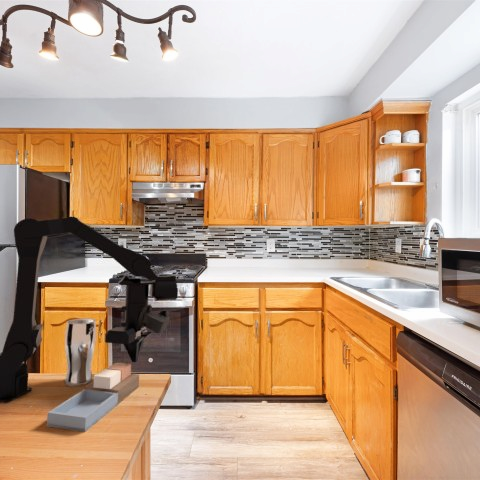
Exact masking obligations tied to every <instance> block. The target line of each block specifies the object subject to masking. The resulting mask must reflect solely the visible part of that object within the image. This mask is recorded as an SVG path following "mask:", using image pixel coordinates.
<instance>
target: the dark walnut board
mask: <svg viewBox="0 0 480 480" xmlns="http://www.w3.org/2000/svg"><path fill="white" fill-rule="evenodd" d="M93 385H94V380H92V381H91V382H89V383H87V384H86V385H85V386H84V389H90V390H98V391H107V392H116V393H118V405H119V404H120V403H122V402H123V401H124V400H126V398H128V397H129V396H130V395H131V394H132V393H133V392H135V391H136V390H137V389H138V388H139V387H140V374H139V373H138V374H137V373H131V374H130V375H129V376H128V377H126V378H125V379H124V380H122V381H120V382H119V383H118V384H117V385H115V386H114V387H112V388H111V389H103V388H95V387H93Z"/></svg>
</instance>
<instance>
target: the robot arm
mask: <svg viewBox="0 0 480 480" xmlns="http://www.w3.org/2000/svg"><path fill="white" fill-rule="evenodd" d="M13 234H14V235H13V236H14V245H15V248H16V253H17V257H18V264H17V273H16V274H17V275H16V286H15V295H14V296H15V297H14V307H13V308H14V309H13V316H12V317H13V318H12V319H13V320H12V322H11V325H10V328H9V330H8V333H7V336H6V337H5V341H4V345H3V348H2V351H1V352H0V402H3V403H9V402H11V401H13V400H15V399H17V398H19V397H21V396H24V395H25V394H27V393H29V392H31V391H32V390H33V387H32V386H31V387H30V386H28V385H29V372H28V367H29V366H28V365H29V364H28V365H27V364H26V363H25V362H26V361H28V360H29V359H30V358H32V356H33V354H34V352H35V351H36V350H37V349H38V348H39V347H40V345H41V343H42V341H43V338H42V330H43V327H44V324H43V323H42V324H37V321H36V316H35V315H36V304H37V294H38V293H37V292H38V283H39V273H40V261H41V257H42V254H43V252H44V249H45V246H46V244H47V240H48V239H49V238H54V237H59V236H65V235H70V234H71V235H74V236H76V237H77V238H78V239H81V240H82V241H83V242H86V243H87V244H89V245H90V246H92V247H94V248H96V249H98V251H101V252H102V253H104V254H105V255H106V256H107V255H108V256H109V257H111V258H112V259H114V261H115V262H116V263H118V264H119V265H121V266H122V267H123V269H125V270H126V271H127V272H128V273H130V274H131V275H133V276H134V278H133V277H131V278H130V277H128V276H127V275H124V276H123V278H121V279H120V280H118V285H119V286H125V302H124V303H125V304H124V305H122V306H121V311H124V321H122V322H120V326H115V327H114V328H111V329H109V330H107V331H106V333H105V334H104V343H105V344H118V345H123V346H124V348H125V350H126V352H127V355H128V356H129V359H130V361H131V362H132V363H136V362H138V361H139V357H140V354H141V351H142V348H143V345H144V343H145V340H146V339H147V338H148V337H149V336H151V335H152V333H156V334H161V333H162V332H165V331H166V329H167V326H168V324H169V323H170V322H171V319H170V318H171V317H170V311H168V310H166V309H163V310H161V311H160V312H159V311H153V306H152V304H149V297H150V298H153V299H154V302H160V301H161V302H162V301H176V300H177V299H178V293H179V288H178V283H177V276H176V275H170V274H169V275H160V276H159V275H158V276H157V275H156V273H155V272H154V271H153V269H152V267H151V266H152V264H151V260H150V258H149V257H147V255H145V254H142V253H139V252H137V251H134V250H132V249H130V248H126V247H125V246H122V245H120V244H118V243H117V242H115V241H113V240H112V239H110V238H108V237H107V236H105V235H104V234H102V233H101V232H99V231H97V230H95V229H94V228H92V227H90V226H89V225H87V223H84V222H82V221H81V220H80V219H79V218H78V217H76V216H68V217H64V218H54V219H53V218H52V219H47V220H46V219H45V220H37V219H36V218H23V219H21V220H19V221H18V222H17V223H16V224H15V226H14V228H13ZM140 277H143V278H145V279H146V280H148V281H141V278H140ZM149 286H150V287H149ZM148 329H149V330H151V331H148ZM152 331H153V332H152Z"/></svg>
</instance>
